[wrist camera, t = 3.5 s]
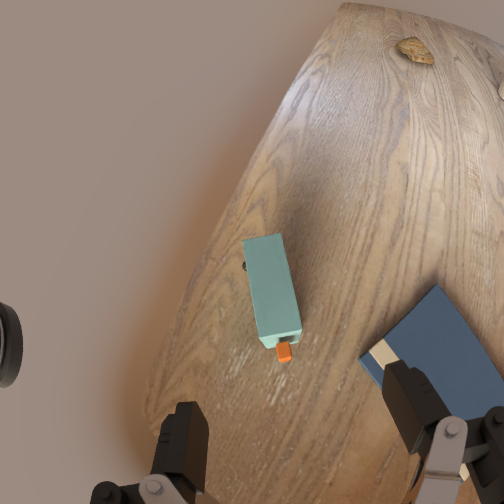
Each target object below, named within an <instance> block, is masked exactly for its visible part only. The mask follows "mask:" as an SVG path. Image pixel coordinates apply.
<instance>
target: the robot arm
mask: <svg viewBox="0 0 504 504" xmlns="http://www.w3.org/2000/svg"><path fill="white" fill-rule="evenodd" d="M5 352H6V330H5V324H4V321H3V318H2V316H1V314H0V369H1V367H2V365H3V362H4V358H5ZM382 395H383V398H384V401H385V403H386V405H387V407H388V409H389V411H390V413H391V415H392V417H393V419H394V421H395V424H396V426H397V428H398V430H399V432H400V434H401V436H402V439H403V441H404V443H405V445H406V447H407V450H408V452H409V454H410V455H412V454H414V453H416V452H418V453H419V456H420V459H419V461H418V464H417V467H416V470H415V473H414V476H413V478H412V481H411V484H410V486H409V489H408V491H407V493H406V496H405V498H404V499H403V501H402V503H401V504H455V502H456V499H457V496H458V492H459V489H460V485H461V480H462V478H461V476H460V475H459V472H460V468H461V464H464V463H465V465H466V467H467V469H468V472H469V474H470V476H471V479H472V481H473V484H474V486H475V489H476V491H477V494H478V496H479V499H480V502H481V504H504V407H503V406H495V407H493V408H491V409H490V410H489V411H488V412H487V413H486V415H485V416H483V417H479V418H475V419H470V420H463V419H462V418H460V417H457V416H453V415H452V414H451V413H450V411H449V410H448V408H447V407H446V405H445V403H444V402H443V400H442V399H441V397H440V396H439V394H438V393H437V391H436V390H435V389H434V387H433V385H432V384H431V383H430V381H429V379H428V378H427V376H426V375H425V373H424V372H422V371H421V370H419V369H418V368H416V367H412V368H410V369H409V368H408V366H407V365H406V363H405V362H404V360H402V359H400V360H398V361H395V362H392V363H389V364H386V365H385V368H384V375H383V382H382ZM208 438H209V427H208V423H207V420H206V418H205V417H204V415H203V413H202V411H201V409H200V407H199V405H198V404H197V402H196V401H191V402H179V403H178V404H177V406H176V411H175V414H168V416H167V417H166V419H165V420H164V421H163V423H162V426H161V430H160V435H159V439H158V444H157V447H156V452H155V457H154V461H153V466H152V470H151V473H150V475H148V476H146V477H145V478H143V480H142V481H141V482H140V483H138V484H133V485H127V486H120V487H119V486H117V485H116V484H114V483H112V482H109V481H105V482H101V483H99V484H98V485H96V486H95V488H94V489H93V492H92V496H91V501H90V504H196V503H195V496H196V494H199V495H203V494H204V488H205V474H206V462H207V450H208Z"/></svg>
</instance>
